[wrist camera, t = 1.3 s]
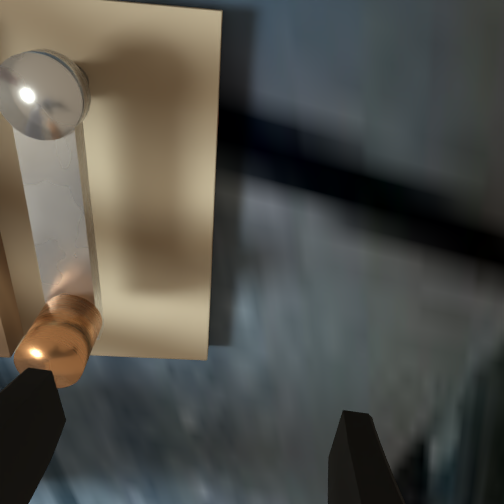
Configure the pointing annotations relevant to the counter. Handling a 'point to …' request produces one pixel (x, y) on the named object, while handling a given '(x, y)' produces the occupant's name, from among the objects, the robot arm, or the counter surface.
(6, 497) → the robot arm
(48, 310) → the bar
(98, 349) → the door board
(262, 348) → the counter surface
